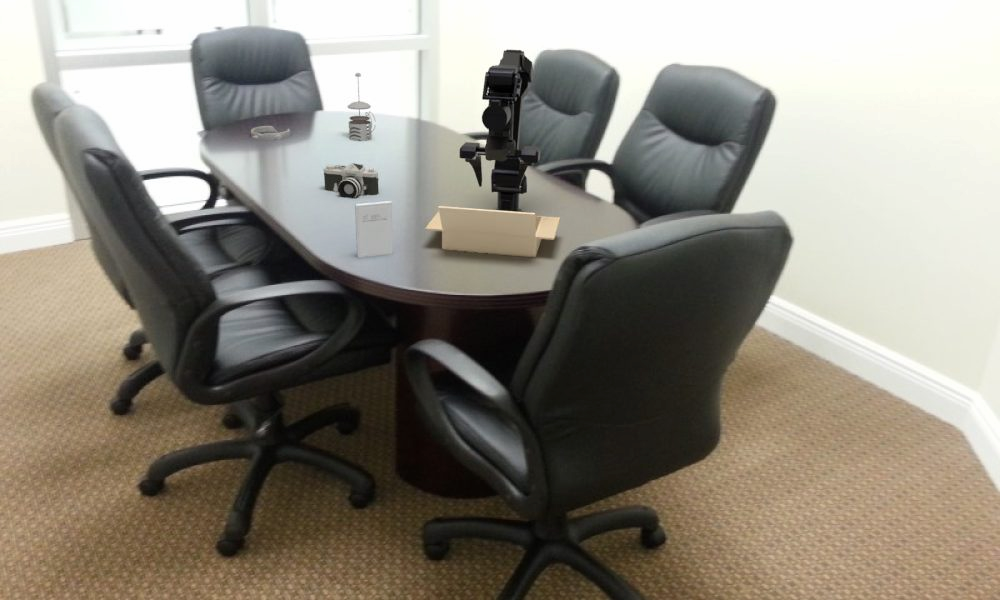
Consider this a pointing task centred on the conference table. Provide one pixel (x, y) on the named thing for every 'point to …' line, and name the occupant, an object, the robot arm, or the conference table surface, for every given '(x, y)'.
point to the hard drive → (374, 228)
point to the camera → (351, 180)
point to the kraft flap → (487, 221)
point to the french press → (360, 120)
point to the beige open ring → (269, 136)
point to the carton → (497, 239)
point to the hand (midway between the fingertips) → (499, 187)
